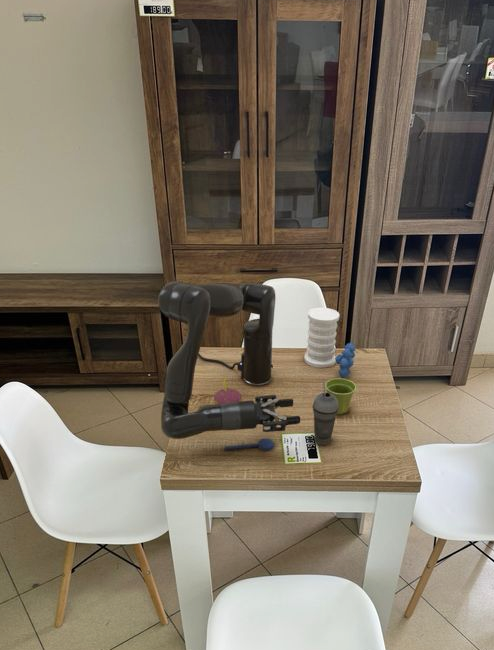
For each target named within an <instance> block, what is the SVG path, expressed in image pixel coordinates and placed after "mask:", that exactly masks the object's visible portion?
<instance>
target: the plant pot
mask: <svg viewBox="0 0 494 650" xmlns="http://www.w3.org/2000/svg"><path fill="white" fill-rule="evenodd" d="M325 390H326V393H331V394H332V395H334V396H335V397H336V399H337V401H338V406H339V409H338V412H337V415H342V414H343V415H344V414H346V413H348V411H349V407H350V404H351V402H352V401H351V400H352V397H353V395H354V393H355V392H356V390H357V385H356V383H355V382H353V381H352V380H350V379H347V378H346V379H343V378H340V377H336V378H330V379H328V380H327V381H325Z"/></svg>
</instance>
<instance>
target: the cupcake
mask: <svg viewBox="0 0 494 650" xmlns="http://www.w3.org/2000/svg"><path fill="white" fill-rule="evenodd" d="M222 383H223V388H221V389H219V390H217V391H216V392H215V393H214V394H213V403H214V405H215V404H224V403H229V402H241V401H243V396H242V394H241V393H240V392H239V391H237V389H234V388H228V387H227V385H226V384H227V383H226V376H224V375H222Z"/></svg>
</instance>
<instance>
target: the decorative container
mask: <svg viewBox="0 0 494 650" xmlns="http://www.w3.org/2000/svg"><path fill="white" fill-rule="evenodd" d="M307 318H308V320H309V321H308V330H307V336H308V337H307V340H306V341H307V346H306V352H305V353H304V356H303V358H304V359H303V360H304V363H306V364H307V365H308V366H311V367H313V368H323V369H324V368H325V369H326V368H331V367H332V366H334V365H335V364H337V362H336V360H335V358H336V357H337V356H336V355H335V351H336V343H337V339H336V338H337V329H338V322H339V320H340V313H339V311H337V310H335V309H333V308H330V307H329V308H328V307H314V308H312V309H310V310H308V312H307Z"/></svg>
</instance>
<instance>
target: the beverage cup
mask: <svg viewBox="0 0 494 650" xmlns="http://www.w3.org/2000/svg"><path fill="white" fill-rule="evenodd" d="M322 382H323V383H322V384H323V385H322V386H323V387H322V388H323V392H322V393H319V394H318V395H317V396H316V397H315V398H314V400H313V403H312V412H313V413H312V414H313V436H314V442H315V443H316V444H317V445H320V446H326V445H329V444H330V442H331V439H332V435H333V431H334V426H335V422H336V417H337V416H338V414H337V412H338V409H339V406H338V401H337V399H336V397H335V396H334V395H332V394H331V393H327V391H326V387H325V384H326V378H323V381H322Z"/></svg>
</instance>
